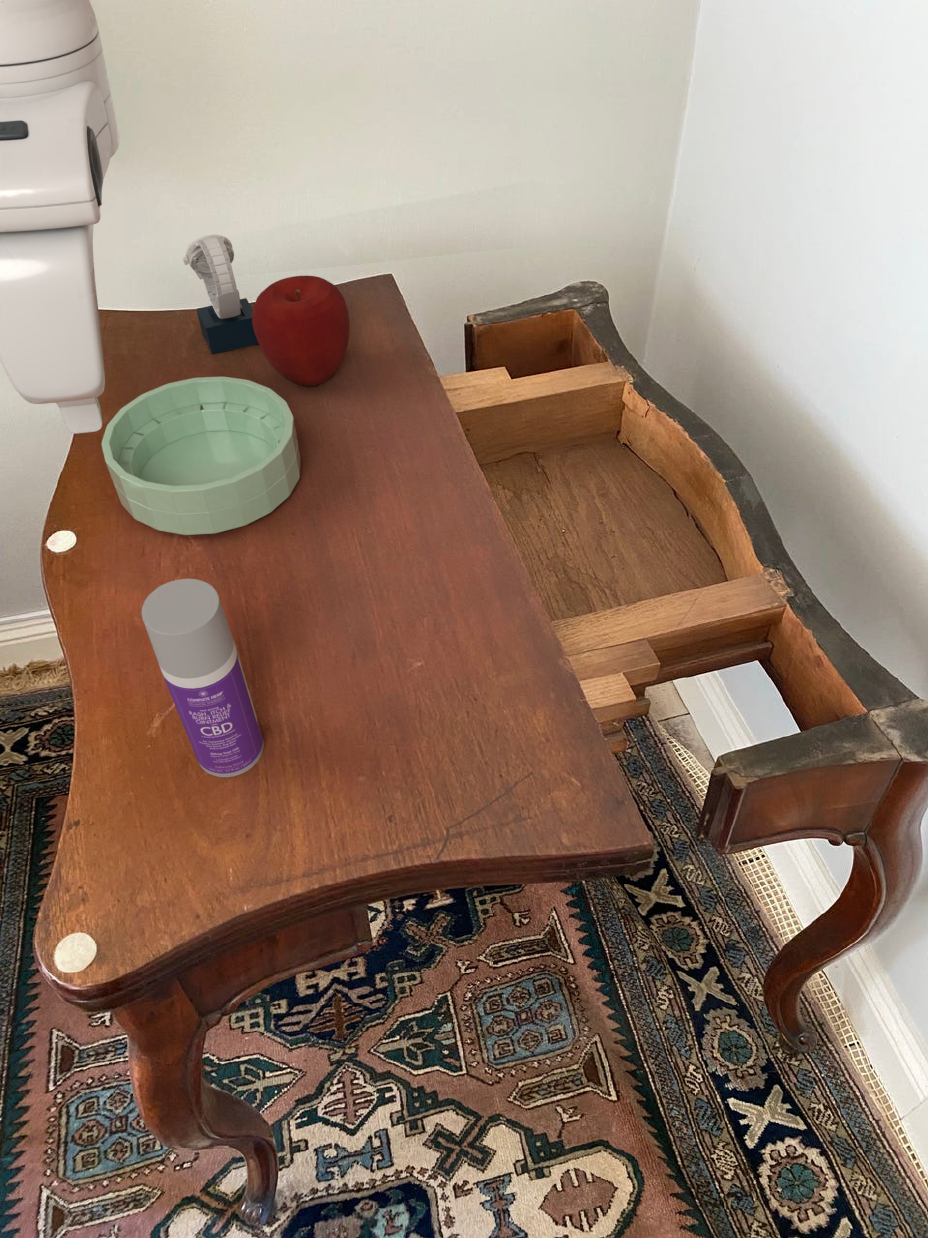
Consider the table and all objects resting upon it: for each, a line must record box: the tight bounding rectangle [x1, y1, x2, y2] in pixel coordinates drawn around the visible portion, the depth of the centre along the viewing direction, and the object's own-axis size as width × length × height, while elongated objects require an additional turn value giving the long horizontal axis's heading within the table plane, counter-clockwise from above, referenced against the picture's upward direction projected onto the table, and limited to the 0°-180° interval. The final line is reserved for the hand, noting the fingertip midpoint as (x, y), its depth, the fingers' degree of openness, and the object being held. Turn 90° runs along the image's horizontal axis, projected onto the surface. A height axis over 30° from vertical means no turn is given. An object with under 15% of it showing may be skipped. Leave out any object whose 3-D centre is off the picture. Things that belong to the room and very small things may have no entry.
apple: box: [252, 275, 350, 387], centre depth 91 cm, size 10×10×10 cm
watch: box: [182, 234, 259, 355], centre depth 95 cm, size 6×8×11 cm
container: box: [141, 578, 265, 778], centre depth 58 cm, size 5×5×15 cm
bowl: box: [101, 376, 302, 536], centre depth 81 cm, size 16×16×6 cm
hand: (81, 373), depth 50 cm, fingers open, 8 cm apart
